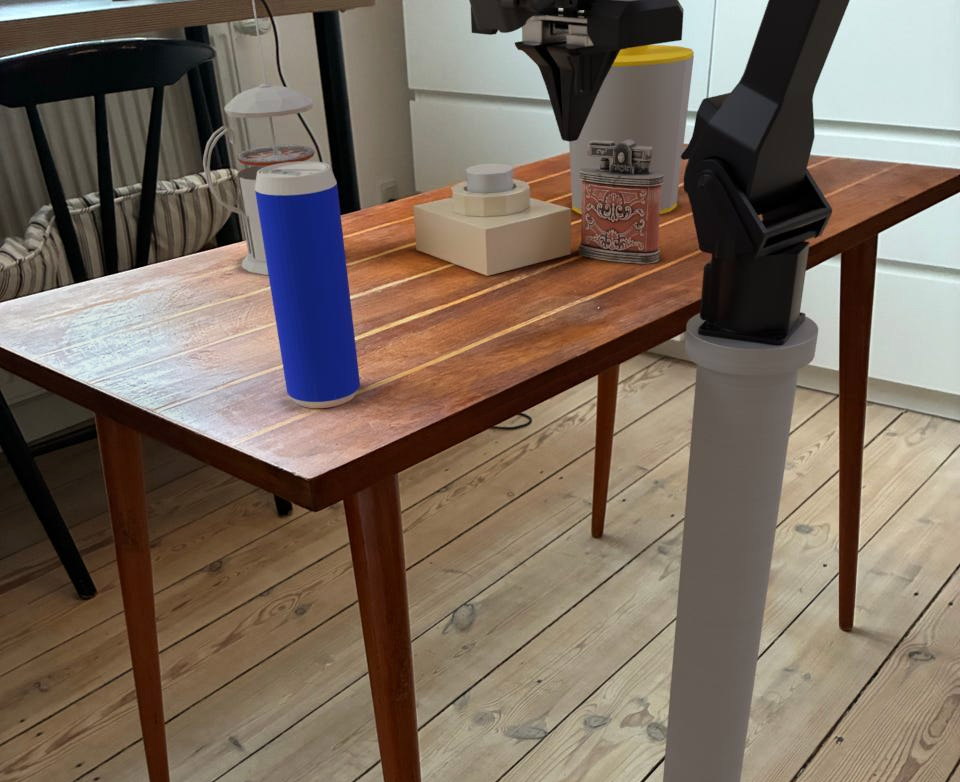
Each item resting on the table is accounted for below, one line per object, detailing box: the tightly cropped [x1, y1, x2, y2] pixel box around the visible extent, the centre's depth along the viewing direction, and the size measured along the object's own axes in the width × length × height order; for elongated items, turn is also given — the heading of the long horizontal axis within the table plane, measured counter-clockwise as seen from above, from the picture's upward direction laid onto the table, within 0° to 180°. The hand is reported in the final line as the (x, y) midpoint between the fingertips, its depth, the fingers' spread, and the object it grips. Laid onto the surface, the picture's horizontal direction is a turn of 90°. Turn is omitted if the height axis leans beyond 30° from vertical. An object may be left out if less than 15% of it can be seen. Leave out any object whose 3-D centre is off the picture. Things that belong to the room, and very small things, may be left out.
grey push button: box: [465, 163, 514, 194], centre depth 97 cm, size 4×4×2 cm
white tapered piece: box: [568, 44, 695, 215], centre depth 108 cm, size 13×13×21 cm
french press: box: [202, 0, 315, 276], centre depth 94 cm, size 10×12×25 cm
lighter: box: [578, 140, 664, 265], centre depth 95 cm, size 8×3×10 cm, turn 57°
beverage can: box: [255, 160, 361, 409], centre depth 69 cm, size 5×5×15 cm
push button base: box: [412, 178, 572, 277], centre depth 100 cm, size 12×10×6 cm
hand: (569, 140), depth 84 cm, fingers closed
